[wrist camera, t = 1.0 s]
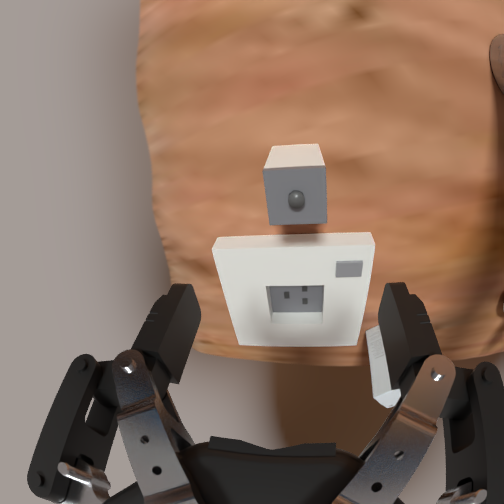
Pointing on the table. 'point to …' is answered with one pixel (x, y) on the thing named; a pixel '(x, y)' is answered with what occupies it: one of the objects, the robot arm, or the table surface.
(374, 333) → the skincare box
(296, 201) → the plug
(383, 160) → the table surface
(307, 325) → the socket plate
